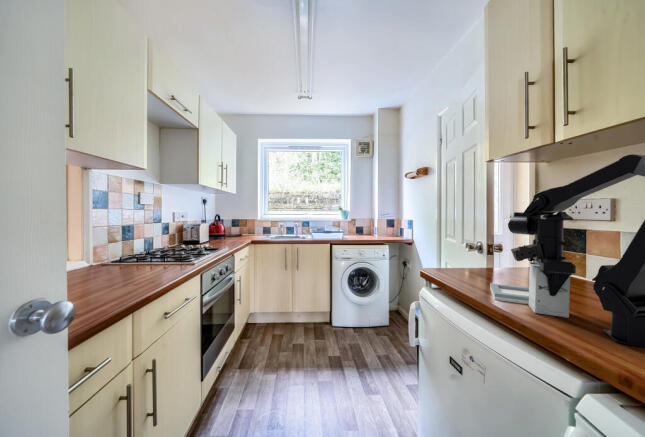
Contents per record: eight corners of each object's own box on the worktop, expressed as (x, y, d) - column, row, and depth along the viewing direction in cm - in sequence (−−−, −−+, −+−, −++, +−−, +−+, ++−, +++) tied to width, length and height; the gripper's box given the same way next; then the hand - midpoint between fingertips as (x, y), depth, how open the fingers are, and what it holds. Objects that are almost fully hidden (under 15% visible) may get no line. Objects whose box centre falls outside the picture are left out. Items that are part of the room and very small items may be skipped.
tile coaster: (551, 307, 77) (551, 300, 77) (494, 299, 83) (494, 293, 83) (538, 294, 89) (538, 288, 89) (490, 288, 96) (490, 283, 95)
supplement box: (534, 313, 72) (535, 267, 71) (528, 305, 78) (529, 263, 78) (570, 318, 68) (571, 270, 68) (560, 309, 75) (561, 265, 74)
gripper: (508, 233, 85) (507, 280, 85) (520, 237, 68) (519, 296, 69) (553, 234, 79) (552, 285, 80) (577, 240, 63) (575, 304, 63)
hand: (548, 292), depth 73 cm, fingers closed on supplement box, 7 cm apart
